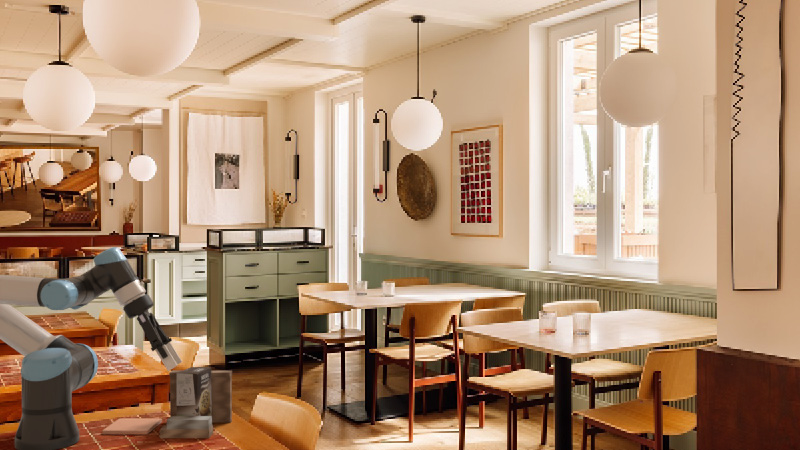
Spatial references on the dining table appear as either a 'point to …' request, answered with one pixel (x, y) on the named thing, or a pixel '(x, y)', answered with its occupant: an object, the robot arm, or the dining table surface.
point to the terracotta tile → (132, 426)
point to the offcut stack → (187, 427)
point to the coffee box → (194, 392)
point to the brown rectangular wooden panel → (219, 395)
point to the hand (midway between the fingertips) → (175, 366)
